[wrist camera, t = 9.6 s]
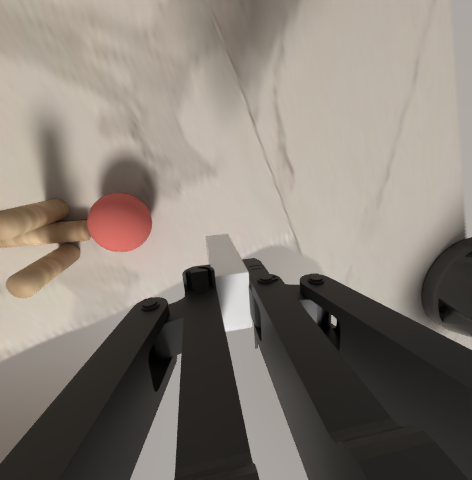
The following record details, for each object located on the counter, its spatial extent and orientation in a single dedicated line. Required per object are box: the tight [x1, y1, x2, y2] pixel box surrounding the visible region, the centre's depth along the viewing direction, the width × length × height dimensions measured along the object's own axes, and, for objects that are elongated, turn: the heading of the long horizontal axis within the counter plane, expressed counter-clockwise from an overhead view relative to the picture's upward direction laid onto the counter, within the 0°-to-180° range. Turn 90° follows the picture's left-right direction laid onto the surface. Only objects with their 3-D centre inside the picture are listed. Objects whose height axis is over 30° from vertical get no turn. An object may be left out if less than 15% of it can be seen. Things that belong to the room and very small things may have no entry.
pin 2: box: [6, 244, 80, 298], centre depth 25 cm, size 2×2×8 cm
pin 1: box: [0, 199, 69, 240], centre depth 23 cm, size 2×2×8 cm
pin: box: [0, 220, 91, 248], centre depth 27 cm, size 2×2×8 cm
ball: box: [87, 193, 152, 252], centre depth 26 cm, size 6×6×6 cm
